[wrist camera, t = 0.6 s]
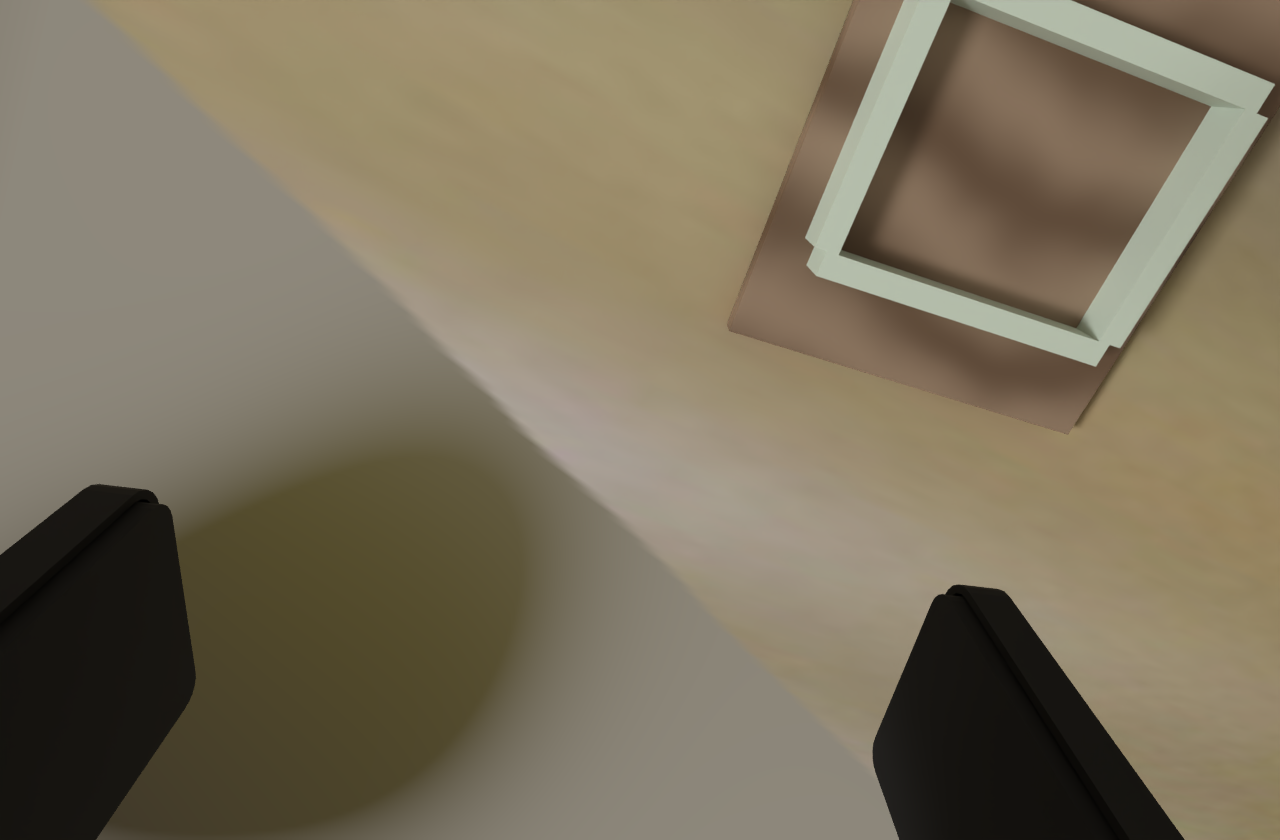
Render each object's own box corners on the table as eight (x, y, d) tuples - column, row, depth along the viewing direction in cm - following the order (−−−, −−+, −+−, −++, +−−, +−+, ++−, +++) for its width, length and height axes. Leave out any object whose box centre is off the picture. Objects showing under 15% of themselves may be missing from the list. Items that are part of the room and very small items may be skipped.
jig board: (923, -181, 29) (954, -206, 26) (1330, -2, 32) (1395, -8, 29) (726, 324, 38) (734, 344, 35) (1058, 426, 41) (1088, 451, 38)
